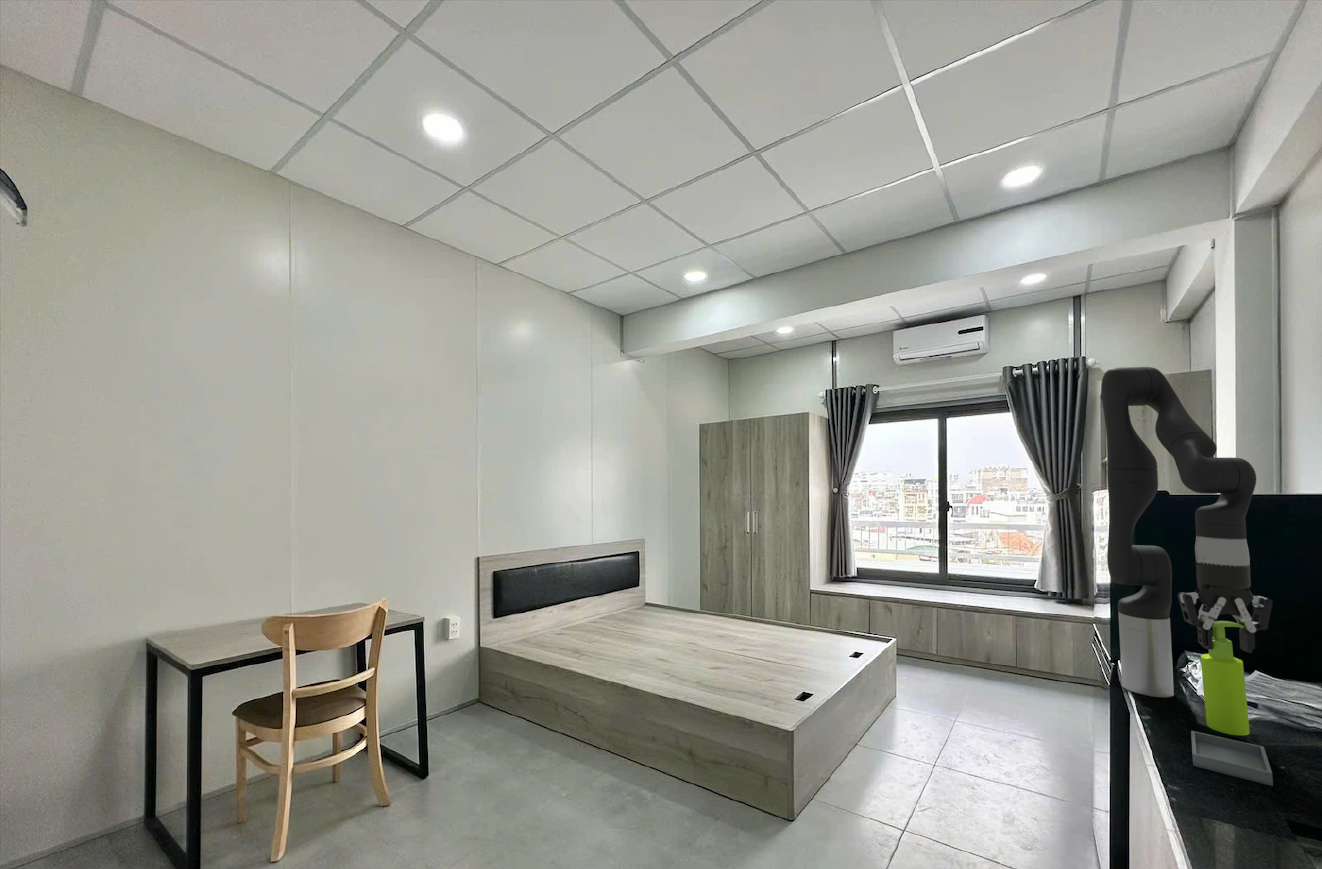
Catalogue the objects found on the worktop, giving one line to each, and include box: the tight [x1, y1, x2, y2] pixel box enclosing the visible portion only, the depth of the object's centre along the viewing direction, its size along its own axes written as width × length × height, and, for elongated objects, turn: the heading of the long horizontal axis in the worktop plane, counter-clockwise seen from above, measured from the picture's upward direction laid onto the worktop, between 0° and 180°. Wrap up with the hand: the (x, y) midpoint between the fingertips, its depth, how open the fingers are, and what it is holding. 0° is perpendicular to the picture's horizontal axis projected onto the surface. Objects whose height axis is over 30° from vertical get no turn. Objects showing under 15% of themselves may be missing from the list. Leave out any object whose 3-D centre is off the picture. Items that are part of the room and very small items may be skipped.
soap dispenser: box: [1200, 620, 1250, 736], centre depth 110 cm, size 6×7×20 cm
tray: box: [1190, 730, 1274, 787], centre depth 101 cm, size 12×10×2 cm
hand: (1226, 649), depth 111 cm, fingers closed on soap dispenser, 5 cm apart
